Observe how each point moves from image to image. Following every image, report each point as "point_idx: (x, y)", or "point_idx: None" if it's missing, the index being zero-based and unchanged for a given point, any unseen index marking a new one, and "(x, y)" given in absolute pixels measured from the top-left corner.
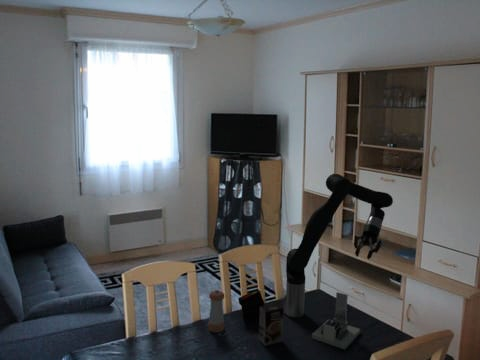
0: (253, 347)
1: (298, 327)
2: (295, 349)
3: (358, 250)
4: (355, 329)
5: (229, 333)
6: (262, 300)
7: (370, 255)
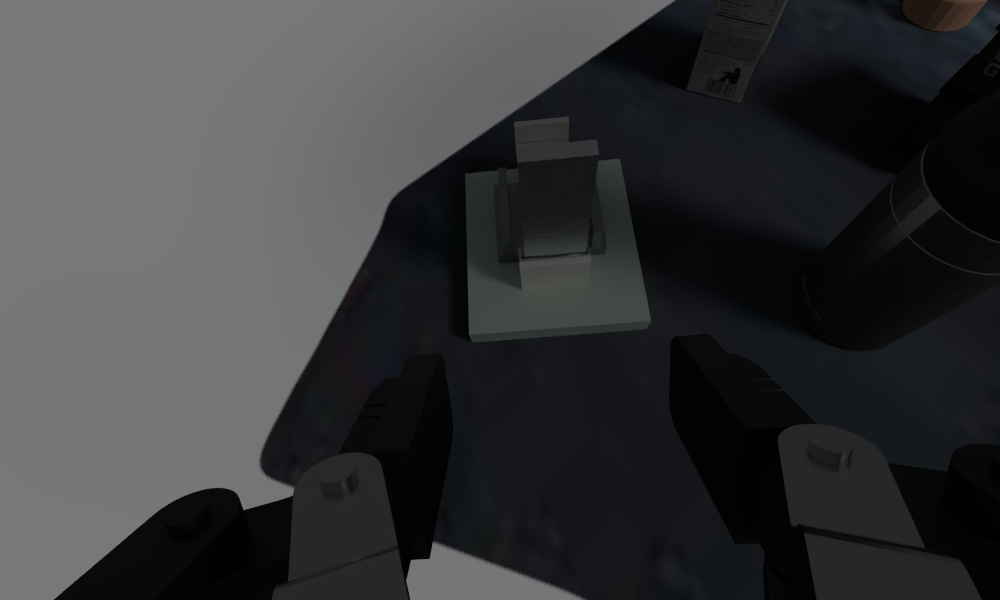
0: None
1: (721, 205)
2: (612, 83)
3: (715, 388)
4: (486, 315)
5: (869, 19)
6: (965, 69)
7: (373, 400)
